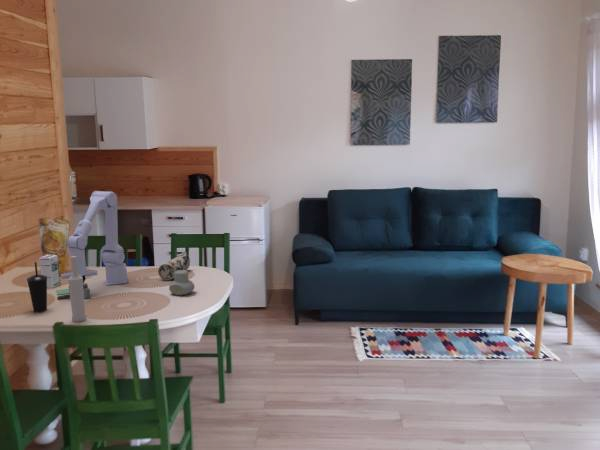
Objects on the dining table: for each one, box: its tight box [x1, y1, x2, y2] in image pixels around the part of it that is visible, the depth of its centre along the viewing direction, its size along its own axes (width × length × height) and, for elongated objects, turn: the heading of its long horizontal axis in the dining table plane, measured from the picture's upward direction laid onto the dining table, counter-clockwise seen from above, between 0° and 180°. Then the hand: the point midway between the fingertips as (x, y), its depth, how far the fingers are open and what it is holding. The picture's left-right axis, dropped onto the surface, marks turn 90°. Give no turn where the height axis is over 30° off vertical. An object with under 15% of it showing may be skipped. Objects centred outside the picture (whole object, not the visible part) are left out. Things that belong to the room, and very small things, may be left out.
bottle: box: [67, 255, 87, 323], centre depth 213 cm, size 5×5×25 cm
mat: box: [56, 288, 69, 296], centre depth 251 cm, size 7×7×1 cm
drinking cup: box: [26, 262, 48, 313], centre depth 225 cm, size 8×8×20 cm
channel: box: [83, 282, 92, 300], centre depth 244 cm, size 6×12×4 cm, turn 27°
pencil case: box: [157, 251, 191, 281], centre depth 275 cm, size 22×8×10 cm, turn 169°
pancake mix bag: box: [37, 217, 71, 278], centre depth 278 cm, size 7×19×28 cm, turn 65°
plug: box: [56, 286, 70, 300], centre depth 242 cm, size 9×4×5 cm, turn 116°
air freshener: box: [168, 269, 195, 296], centre depth 246 cm, size 11×8×10 cm
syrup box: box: [39, 255, 62, 289], centre depth 259 cm, size 6×6×14 cm
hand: (81, 292), depth 244 cm, fingers closed
